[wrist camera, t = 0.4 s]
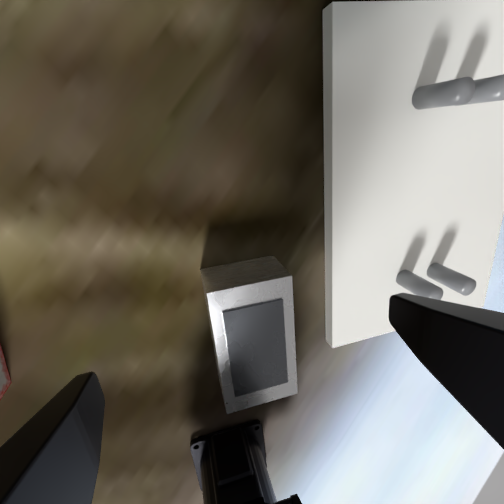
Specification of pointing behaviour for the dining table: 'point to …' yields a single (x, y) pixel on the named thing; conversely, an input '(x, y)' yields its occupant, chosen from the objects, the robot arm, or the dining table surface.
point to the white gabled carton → (3, 375)
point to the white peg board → (410, 156)
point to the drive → (252, 330)
